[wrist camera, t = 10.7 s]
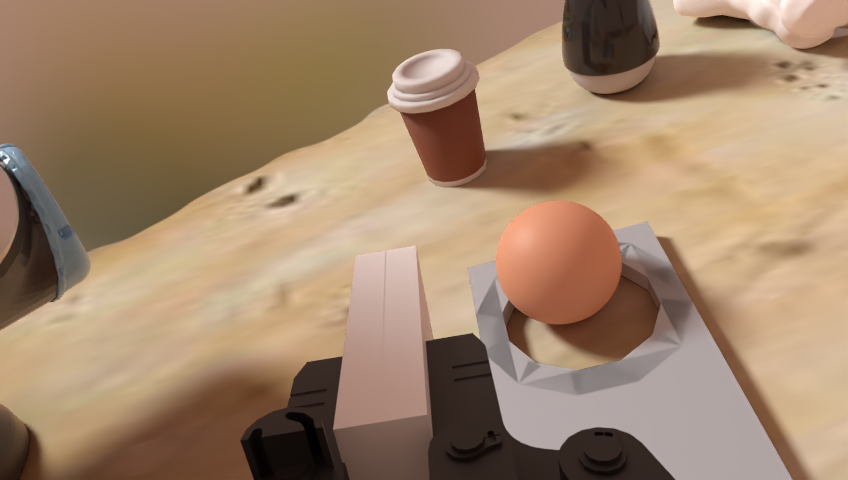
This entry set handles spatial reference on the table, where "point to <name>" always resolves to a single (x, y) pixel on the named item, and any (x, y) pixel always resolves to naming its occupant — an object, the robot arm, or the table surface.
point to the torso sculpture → (778, 16)
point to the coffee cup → (441, 114)
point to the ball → (558, 262)
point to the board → (634, 381)
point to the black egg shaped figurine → (609, 43)
